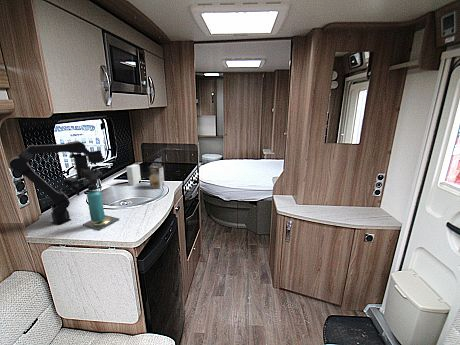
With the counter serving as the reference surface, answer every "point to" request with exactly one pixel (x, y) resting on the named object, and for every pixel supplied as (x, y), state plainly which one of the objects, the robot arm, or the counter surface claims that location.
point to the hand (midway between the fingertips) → (86, 192)
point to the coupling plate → (101, 223)
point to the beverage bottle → (95, 204)
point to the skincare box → (133, 174)
